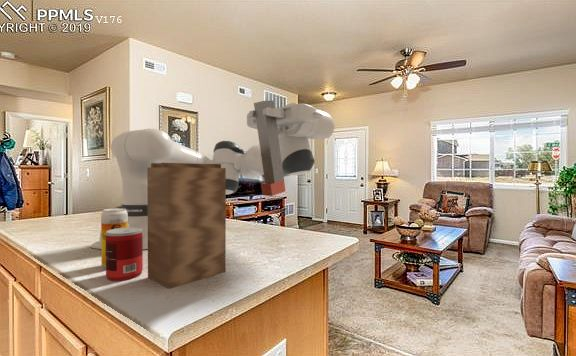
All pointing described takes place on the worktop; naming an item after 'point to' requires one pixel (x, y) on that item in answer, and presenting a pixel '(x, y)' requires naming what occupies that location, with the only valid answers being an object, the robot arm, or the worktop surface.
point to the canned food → (124, 253)
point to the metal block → (269, 150)
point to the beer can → (111, 226)
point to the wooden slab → (186, 222)
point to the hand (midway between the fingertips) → (257, 112)
